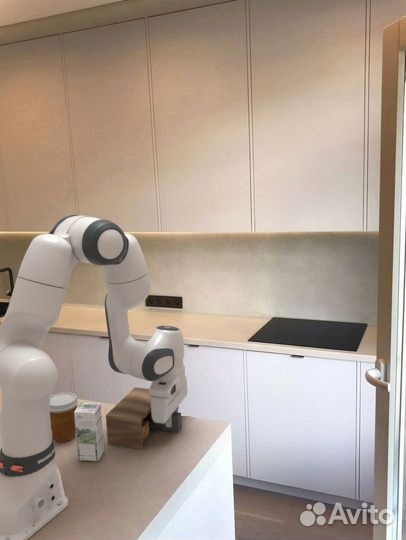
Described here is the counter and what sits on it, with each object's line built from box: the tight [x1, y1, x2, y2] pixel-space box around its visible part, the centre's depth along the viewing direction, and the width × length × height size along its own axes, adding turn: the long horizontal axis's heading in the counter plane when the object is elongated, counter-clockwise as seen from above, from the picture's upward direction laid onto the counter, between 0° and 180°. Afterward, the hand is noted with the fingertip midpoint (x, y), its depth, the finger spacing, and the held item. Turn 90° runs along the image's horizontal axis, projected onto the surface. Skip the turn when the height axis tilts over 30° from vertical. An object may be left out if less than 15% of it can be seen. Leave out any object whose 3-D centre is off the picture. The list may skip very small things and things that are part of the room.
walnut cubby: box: [105, 387, 152, 450], centre depth 145 cm, size 19×10×9 cm, turn 162°
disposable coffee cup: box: [50, 392, 79, 443], centre depth 143 cm, size 10×10×12 cm
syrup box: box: [74, 402, 105, 462], centre depth 132 cm, size 6×6×14 cm
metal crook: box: [142, 411, 183, 433], centre depth 145 cm, size 7×16×5 cm, turn 72°
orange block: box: [142, 421, 150, 442], centre depth 142 cm, size 4×4×4 cm
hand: (171, 422), depth 145 cm, fingers closed on metal crook, 3 cm apart
